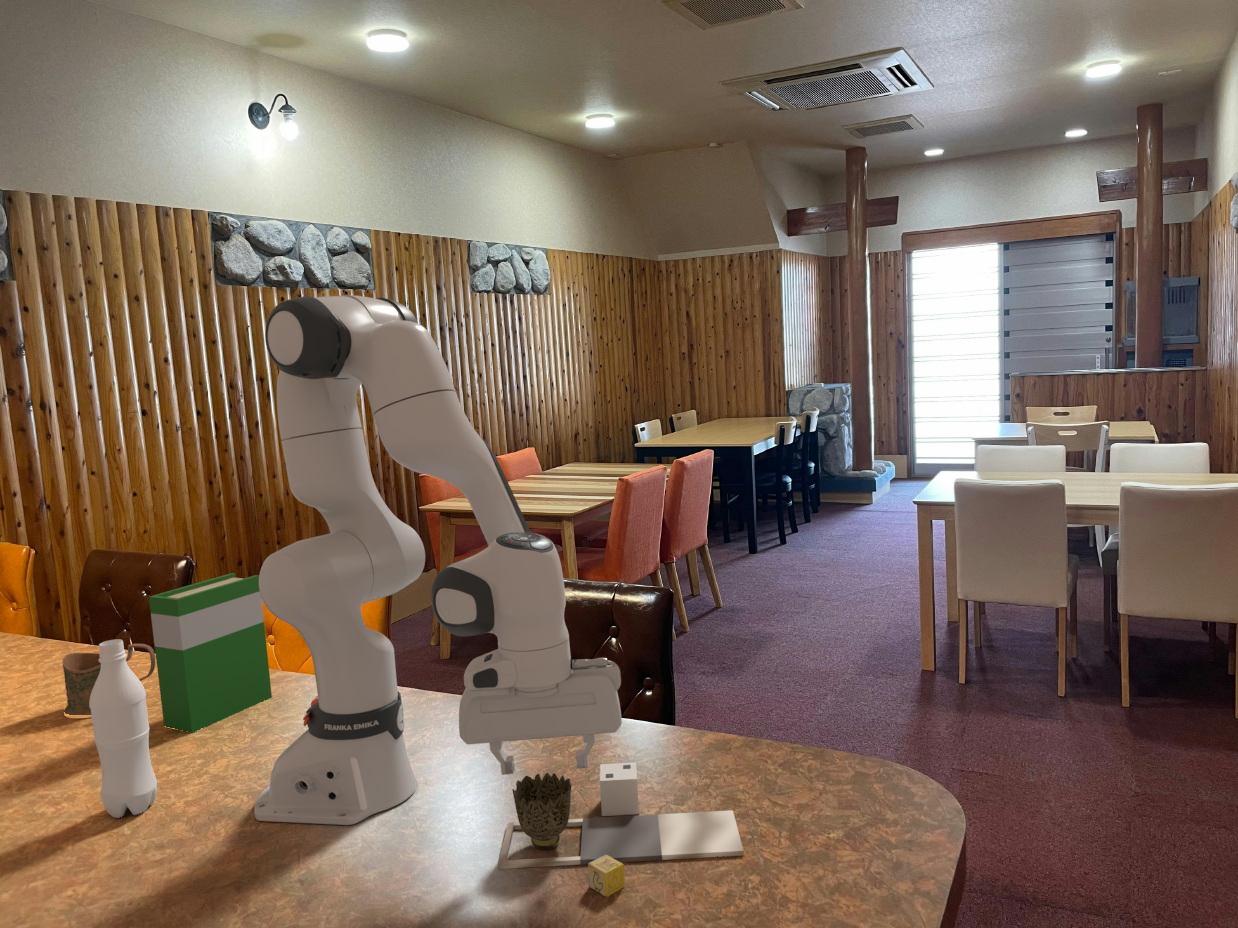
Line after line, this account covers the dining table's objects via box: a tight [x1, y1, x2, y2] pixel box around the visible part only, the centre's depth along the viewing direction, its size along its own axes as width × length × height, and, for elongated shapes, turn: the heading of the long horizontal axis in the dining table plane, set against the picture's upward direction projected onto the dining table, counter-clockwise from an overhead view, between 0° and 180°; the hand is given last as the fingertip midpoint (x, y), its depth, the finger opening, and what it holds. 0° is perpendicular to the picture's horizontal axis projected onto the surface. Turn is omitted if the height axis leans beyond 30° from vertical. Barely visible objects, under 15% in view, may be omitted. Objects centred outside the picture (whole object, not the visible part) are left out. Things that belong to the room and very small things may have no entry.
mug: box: [61, 643, 156, 715], centre depth 174 cm, size 12×18×12 cm, turn 89°
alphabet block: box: [587, 855, 625, 898], centre depth 106 cm, size 3×3×3 cm
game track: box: [498, 809, 745, 870], centre depth 116 cm, size 30×10×1 cm, turn 90°
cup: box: [511, 772, 572, 851], centre depth 116 cm, size 8×7×8 cm
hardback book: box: [148, 572, 273, 734], centre depth 168 cm, size 18×7×24 cm, turn 153°
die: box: [599, 761, 640, 817], centre depth 125 cm, size 5×5×5 cm
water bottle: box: [89, 638, 158, 819], centre depth 131 cm, size 7×7×25 cm
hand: (545, 769), depth 115 cm, fingers open, 8 cm apart
